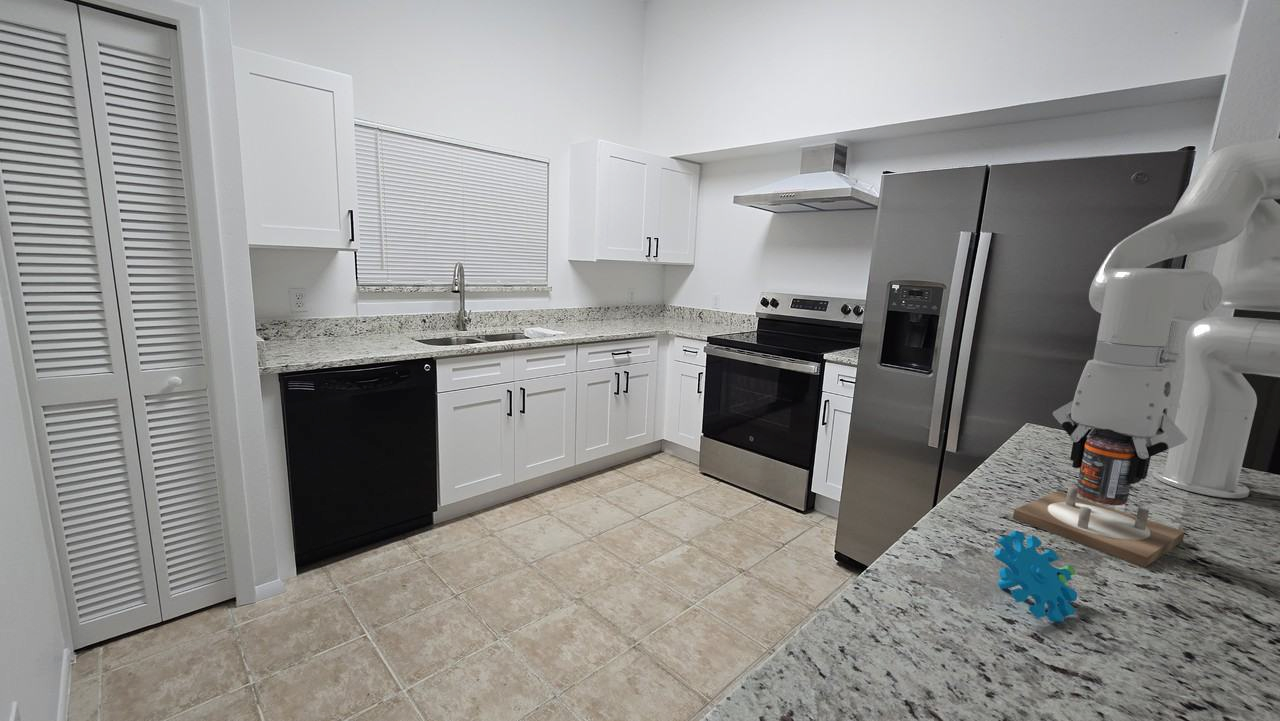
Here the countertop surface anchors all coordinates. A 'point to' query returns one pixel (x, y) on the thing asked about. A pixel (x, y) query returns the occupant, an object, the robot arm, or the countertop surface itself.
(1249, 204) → the robot arm
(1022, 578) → the gear
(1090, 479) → the supplement bottle
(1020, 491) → the countertop surface
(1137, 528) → the pin board
